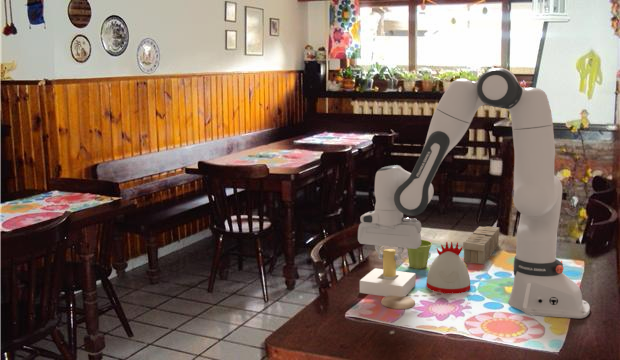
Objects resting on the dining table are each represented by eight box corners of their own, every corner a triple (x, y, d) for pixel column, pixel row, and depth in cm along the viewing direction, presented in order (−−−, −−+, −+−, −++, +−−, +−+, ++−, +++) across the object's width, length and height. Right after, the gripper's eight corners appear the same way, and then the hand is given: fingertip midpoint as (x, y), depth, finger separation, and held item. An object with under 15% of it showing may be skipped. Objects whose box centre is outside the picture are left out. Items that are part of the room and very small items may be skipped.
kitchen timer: (471, 295, 202) (472, 248, 200) (426, 292, 205) (426, 246, 202) (469, 280, 216) (470, 237, 213) (427, 278, 218) (427, 235, 216)
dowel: (397, 273, 208) (397, 249, 207) (393, 277, 205) (393, 252, 204) (385, 272, 210) (385, 248, 209) (381, 276, 207) (381, 251, 205)
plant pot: (433, 270, 227) (434, 246, 226) (406, 270, 227) (406, 246, 226) (429, 262, 236) (429, 239, 235) (403, 262, 236) (403, 239, 235)
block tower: (479, 246, 261) (461, 263, 235) (479, 225, 260) (462, 240, 234) (499, 248, 258) (483, 266, 232) (499, 227, 256) (484, 242, 231)
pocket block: (415, 285, 212) (415, 273, 211) (402, 298, 199) (402, 286, 199) (374, 279, 218) (374, 268, 217) (359, 292, 205) (359, 280, 205)
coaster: (419, 300, 198) (419, 298, 198) (409, 311, 189) (409, 309, 189) (387, 295, 202) (387, 293, 202) (376, 306, 194) (376, 304, 193)
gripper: (424, 216, 203) (424, 259, 205) (362, 212, 212) (363, 253, 214) (418, 221, 197) (418, 265, 199) (355, 216, 206) (356, 258, 208)
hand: (389, 259), depth 207 cm, fingers closed on dowel, 4 cm apart
